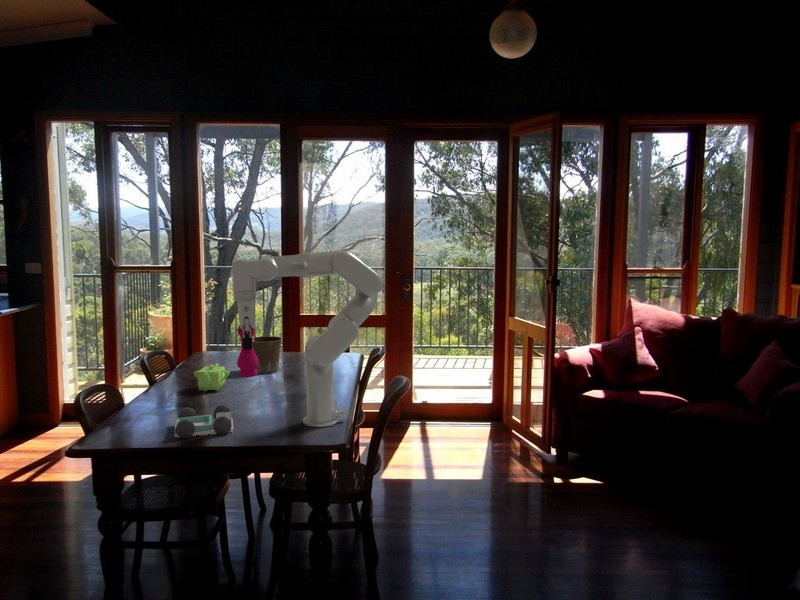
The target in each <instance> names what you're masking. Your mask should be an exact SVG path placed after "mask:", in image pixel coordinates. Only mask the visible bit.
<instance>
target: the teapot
mask: <svg viewBox="0 0 800 600" xmlns="http://www.w3.org/2000/svg"><path fill="white" fill-rule="evenodd" d="M230 373H231V372H230V371H229V370H226V367H225V365H224V366H219V363H216V364H215V365H214V364H209V365H208V366H204V367H202V368H201V369H199V370H196V371H194V372H193V375H194V377H195V378H196V379H197V383H198V384H197V385H198V391H202V392H203V391H206V390H207V391H214V390H215V391H214V392H218V391H217V390H219V391H220V390H221V389H223V387H224V386H225V385H226V379H228V377H229V375H230ZM207 391H206V392H207Z"/></svg>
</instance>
